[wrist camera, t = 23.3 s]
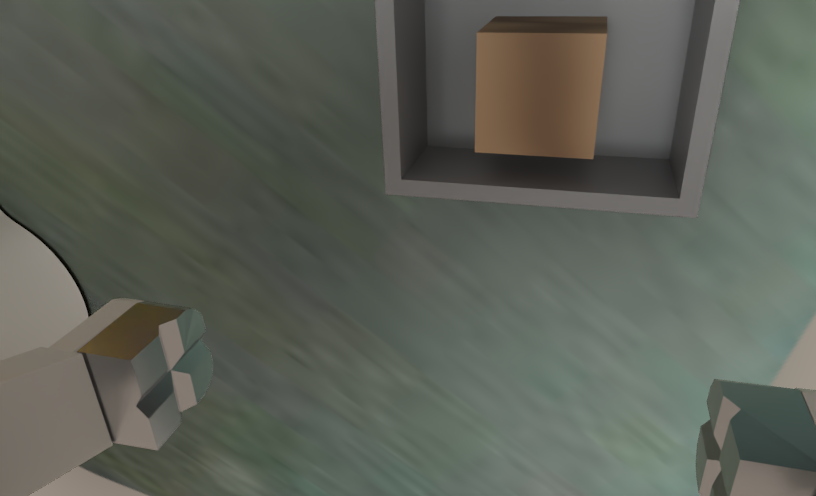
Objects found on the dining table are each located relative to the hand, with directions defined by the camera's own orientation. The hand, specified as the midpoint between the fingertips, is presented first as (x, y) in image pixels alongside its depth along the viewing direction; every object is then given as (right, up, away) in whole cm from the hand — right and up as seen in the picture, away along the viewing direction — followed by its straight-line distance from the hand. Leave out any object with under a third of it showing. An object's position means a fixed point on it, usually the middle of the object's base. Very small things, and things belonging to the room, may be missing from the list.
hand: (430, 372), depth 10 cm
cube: (+6, +10, +20) cm, 23 cm away
